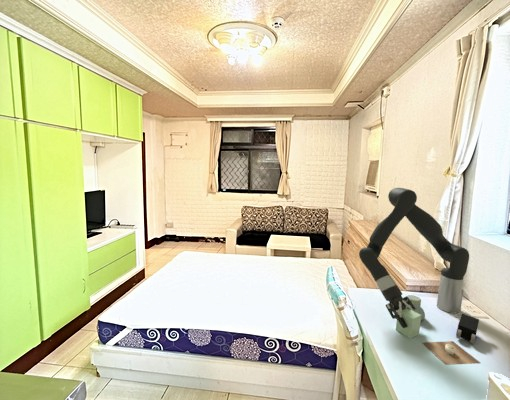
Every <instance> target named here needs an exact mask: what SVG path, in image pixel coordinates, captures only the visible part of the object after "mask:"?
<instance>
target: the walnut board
mask: <svg viewBox="0 0 510 400" xmlns="http://www.w3.org/2000/svg"><path fill="white" fill-rule="evenodd" d="M421 344H422V345H423V346H424V347H426V348H427V349H428V350H429V351H430V352H431V353H432V354H434V356H435V357H436V358H438V359H439V360H440V361H441V362H442V363H443V364H444V365H445V366H447V365H449V366H450V365H467V364H469V365H470V364H471V365H472V364H481V361H479V360H478V359H476V358H475V357H474V356H472V355H471V354H470V353H469V352H467V350H465V349H464V348H462V347H461V346H460V345H459V344H457V343H456V342H455V341H452V340H451V341H450V340H449V341H430V342H429V341H425V342H424V341H423V342H422V341H421ZM446 344H449V345H452V346H454V347H455V353H454V355H450V354H448V353H446V352H445V345H446Z"/></svg>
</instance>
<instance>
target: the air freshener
mask: <svg viewBox="0 0 510 400" xmlns="http://www.w3.org/2000/svg"><path fill="white" fill-rule="evenodd" d="M407 297H408V298H409V300H410V301H411V302H412V304H413V305H414V307H415V308H416V309H415V310H414V312H416V313H418V314H420V315H421V321H423V320H425V319H426V313H425V311H424V309H423V307H421V306H422V305H421V304H422V299H421V298H420V297H419V296H416V295H413V294H409V295H407ZM410 307H411V305H410ZM411 308H412V307H411Z"/></svg>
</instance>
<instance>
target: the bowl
mask: <svg viewBox="0 0 510 400" xmlns="http://www.w3.org/2000/svg"><path fill="white" fill-rule="evenodd" d="M445 352H446V353H448V354H450V355H454V353H455V347H454V346H452V345H449V344H446V345H445Z"/></svg>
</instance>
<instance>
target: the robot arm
mask: <svg viewBox="0 0 510 400" xmlns="http://www.w3.org/2000/svg"><path fill="white" fill-rule="evenodd" d="M387 195H388V196H387V197H388V201H389V203H390V204H391V205H392V206H393V209H392V211H391V212H390V213H389V215H387V217H385V218H384V219H383V220H382V221H380V222H379V223H378V224H377V225H376V227H375V228H374V230H373V231H372V233H371V235H370V237H369V239H368V240H369V242H368V244H367V246H365V247H362V248H361V249H360V250H359V252H358V255H359V259H360V261H361V262H362V264H363V265H364V266H365V268H366V269H367V271H368V272H370V274H371V277H372V278H373V280H374V281H375V283H376V286H377V288H378V289H379V291H380V293H381V294H382V296H383V297H384V299H385V301H386V302H388V303H387V304H385V308H386V309H387V312H388V313H389V315H390V316H391V318H392V319H396V321H397V320H398V321H399V323H400V325H401V326H402V327H403V328H406V327H408V325H407V324H406V322H405V320H404V319H403V317H402V314H401V313H402V310H404V309H406V308H407V309H410V310H412V311H414V310H415V309H416V308H415V307H414V305H413V304H412V302H411V301H410V300H409V298H408V297H407V296H408V295H407V296H404V297H403V296H402V295H403V292H402V291H401V289H400V287H399V286H398V284H397V283H396V281H395V280H394V278H393V277H392V275H391V274H390V272H388V270H387V268H386V267H385V265H383V264H382V263H381V261H380V260H379V257H380V255H381V252H382V250H383V247H384V245H385V244H386V242H387V241H388V239H389V238H390V236H391V235H392V233H393V231H394V230H395V229H396V227H398V225H399V224H400V223H401V221H402V220H403V219H404V218H406V219H407V220H408V221H409V222H410V224H411V226H413V227H414V228H415V229H416V230H417V232H419V234H420V235H421V236H422V237H423V238H424V239H425V240H427V242H428V243H429V244H430V245H431V246H432V247H433V249H435V251H436V253H437V254H438V256H439V257H440V258H441V259H442V260H444V261H446V262H447V263H449V267H443V268H442V269H441V270H440V271H441V272H440V278H439V283H438V292H437V293H438V294H437V299H436V307H437V308H438V307H439V308H438V309H440V310H441V309H442V311H444V312H446V313H451V314H456V313H459V312H461V311H462V303H463V297H464V294H463V292H462V290H463V289H462V288H463V284H464V278H465V276H466V274H467V271H468V266H469V261H470V253H469V251H468V249H467V248H465V247H462V246H460V245H456V244H454V243H452V242H451V241H449V240H448V239H447V238H446V237H445V236H444V234H443V232H444V231H443V228H442V226H441V224H440V223H439V222H438V221H437V220H436V218H434V216H432V215H431V214H430V213H428V212H427V211H426V210H424V209H422V208H421V207H419V206H418V205H417V204H416V203H417V200H418V199H417V198H418V195H417V193H416V192H415V191H414V190H411V189H408V188H403V187H393V188H392V189H391V190H390V191H389V192H388V194H387ZM410 305H411V307H412V308H411V307H410Z"/></svg>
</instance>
